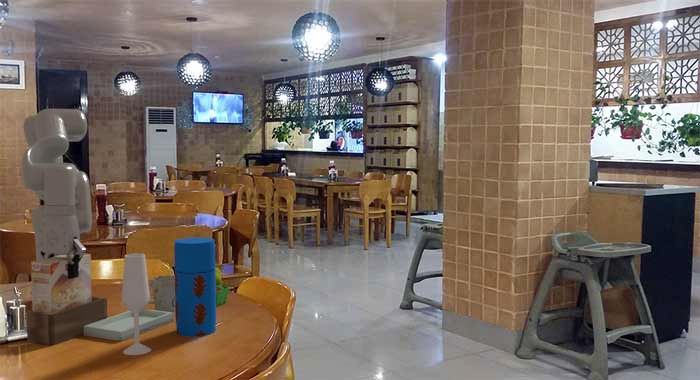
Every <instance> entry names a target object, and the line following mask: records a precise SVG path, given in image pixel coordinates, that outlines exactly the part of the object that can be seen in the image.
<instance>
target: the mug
mask: <svg viewBox="0 0 700 380" xmlns="http://www.w3.org/2000/svg"><path fill="white" fill-rule="evenodd" d="M148 285H149V287H151V289H152V296H153V300H152V301H151V299H150V300H149V302H148V305H154V308H155V309H154V310H157V311H165V312H173V313H174V312H176V311H175V275H157V276H154V277H151V279H150V282H149V281H148Z"/></svg>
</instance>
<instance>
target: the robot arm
mask: <svg viewBox="0 0 700 380" xmlns="http://www.w3.org/2000/svg"><path fill="white" fill-rule="evenodd" d="M87 131H88V121H87V117H86V115H85V113H84V112H83V111H82V110H80V109H75V108H45V109H42V110H40V111H38V112H37V113H36V115H35V114H33V115H29V116H28V117H25V119H24V121H23V134H24V138H25V140H26V144H27V146H28V147H27V149H26V150H25V152H24V153H23V155H22V158H21V179H22V183H23V185H24V187H25V188H26V189H27V190H29V191H33V192H34V191H35V193H36V196H37V197H38V199H39V200H42V201H44V204H43V205H39V206H37V207H35V208H34V209H33V211H32V213H31V223H32V227H33V233H34V240H35V251H36V252H35V254H36V260H35V261H37V260H41V259H46V258H51V257H55V256H60V255H66V256H67V258H68V261H69V263H70V264H68V279H73V278H76V277H79V265H78V263H79V262H80V260H81V258H82V257H83V255H84V254H86V251H87V248H86V247H85V246H84V245H83V244H82V243H81V236H80V235H81V233H82V234H83V233H87V232H89V231H90V230H91V229H92V224H93V213H92V202H91V188H90V179H89V177H88V175H87V174H86V173H85V171H82V170H79V169H78V168H77V166H76V165H75V164H73V163H69V162H64V157H63V155H65V154H66V153H67V151H68V149H69V146H70V143H69V142H71V143H72V142H81V141H82V140H83V139H84V138H85V136H86V135H87ZM72 255H73V256H74V257H73V258H72ZM30 295H31V296H32V290H31V292H30Z"/></svg>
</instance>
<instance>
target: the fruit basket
mask: <svg viewBox="0 0 700 380" xmlns="http://www.w3.org/2000/svg"><path fill="white" fill-rule="evenodd" d="M215 269H216V307H218V306H221V305H223V304H225V303H227V299H228V296H229V295H228V294H229V292H230V289H231V286H227V285H221V283H222V272H221V270H220V268H219V266H216V268H215Z"/></svg>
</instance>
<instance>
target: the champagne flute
mask: <svg viewBox="0 0 700 380" xmlns="http://www.w3.org/2000/svg"><path fill="white" fill-rule="evenodd" d="M123 261H124V263H123V274H122V287H121V289H122V290H121V303H122V304H123V305H124V307H125V308H126V309H127V310H128V311H131V312H133V313H134V337H133V338H134V343H133V344H131V345H130V346H129V347H127V348H125V349H124V350H123V351H122V353H123V354H124V355H127V356H128V355H129V356H139V355H144V354H147V353H149V352H151V351H152V348H150V347H149V346H147V345H144V344H142V343H140V334H139V312H140V311H141V310H142V309H145V307H147V305H149V303H148V302H149V300H150V301H151V295H150V286H149V285H148V282H149V278H148V277H149V276H148V270H147V260H146V254H145V253H129V254H125V255H124V260H123Z"/></svg>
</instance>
